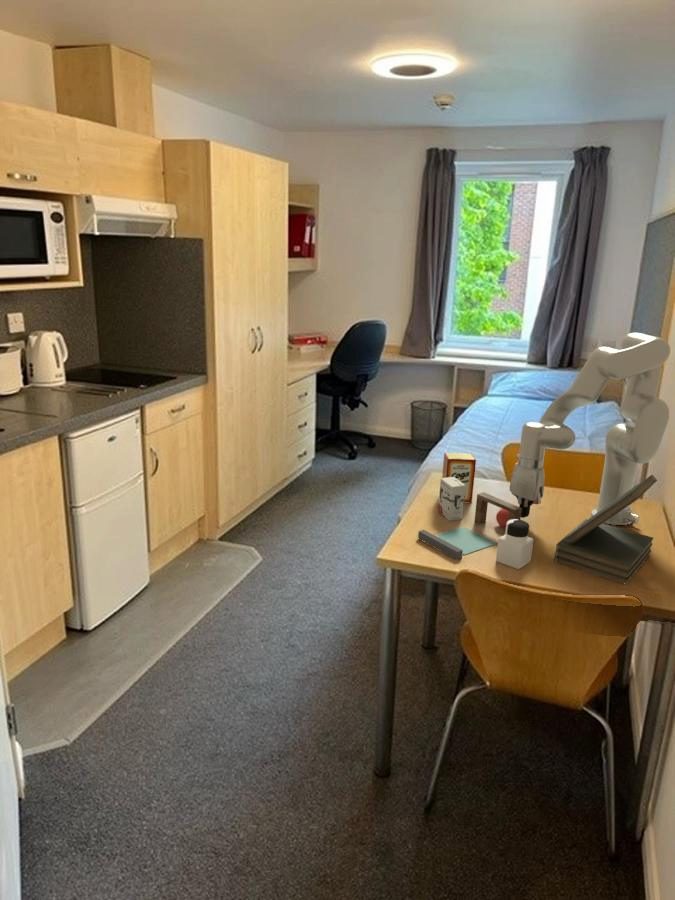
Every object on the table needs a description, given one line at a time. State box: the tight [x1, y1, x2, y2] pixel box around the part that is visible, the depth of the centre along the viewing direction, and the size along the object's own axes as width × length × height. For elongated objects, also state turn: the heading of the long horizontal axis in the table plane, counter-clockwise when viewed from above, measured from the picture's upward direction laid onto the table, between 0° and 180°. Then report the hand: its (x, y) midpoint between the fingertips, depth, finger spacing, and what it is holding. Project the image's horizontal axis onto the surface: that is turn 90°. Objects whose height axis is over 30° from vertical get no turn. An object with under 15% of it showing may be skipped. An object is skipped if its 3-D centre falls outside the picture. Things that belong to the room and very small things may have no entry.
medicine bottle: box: [495, 519, 534, 570], centre depth 179 cm, size 7×7×12 cm
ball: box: [495, 508, 509, 528], centre depth 202 cm, size 6×6×6 cm
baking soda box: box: [441, 452, 477, 504], centre depth 222 cm, size 10×6×16 cm
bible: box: [553, 474, 658, 585], centre depth 180 cm, size 23×20×25 cm
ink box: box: [437, 477, 465, 521], centre depth 209 cm, size 9×5×12 cm, turn 18°
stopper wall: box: [417, 529, 463, 560], centre depth 187 cm, size 16×2×2 cm, turn 35°
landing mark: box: [435, 526, 498, 556], centre depth 193 cm, size 14×14×1 cm
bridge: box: [473, 492, 522, 526], centre depth 199 cm, size 3×15×10 cm, turn 35°
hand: (523, 516), depth 208 cm, fingers closed
